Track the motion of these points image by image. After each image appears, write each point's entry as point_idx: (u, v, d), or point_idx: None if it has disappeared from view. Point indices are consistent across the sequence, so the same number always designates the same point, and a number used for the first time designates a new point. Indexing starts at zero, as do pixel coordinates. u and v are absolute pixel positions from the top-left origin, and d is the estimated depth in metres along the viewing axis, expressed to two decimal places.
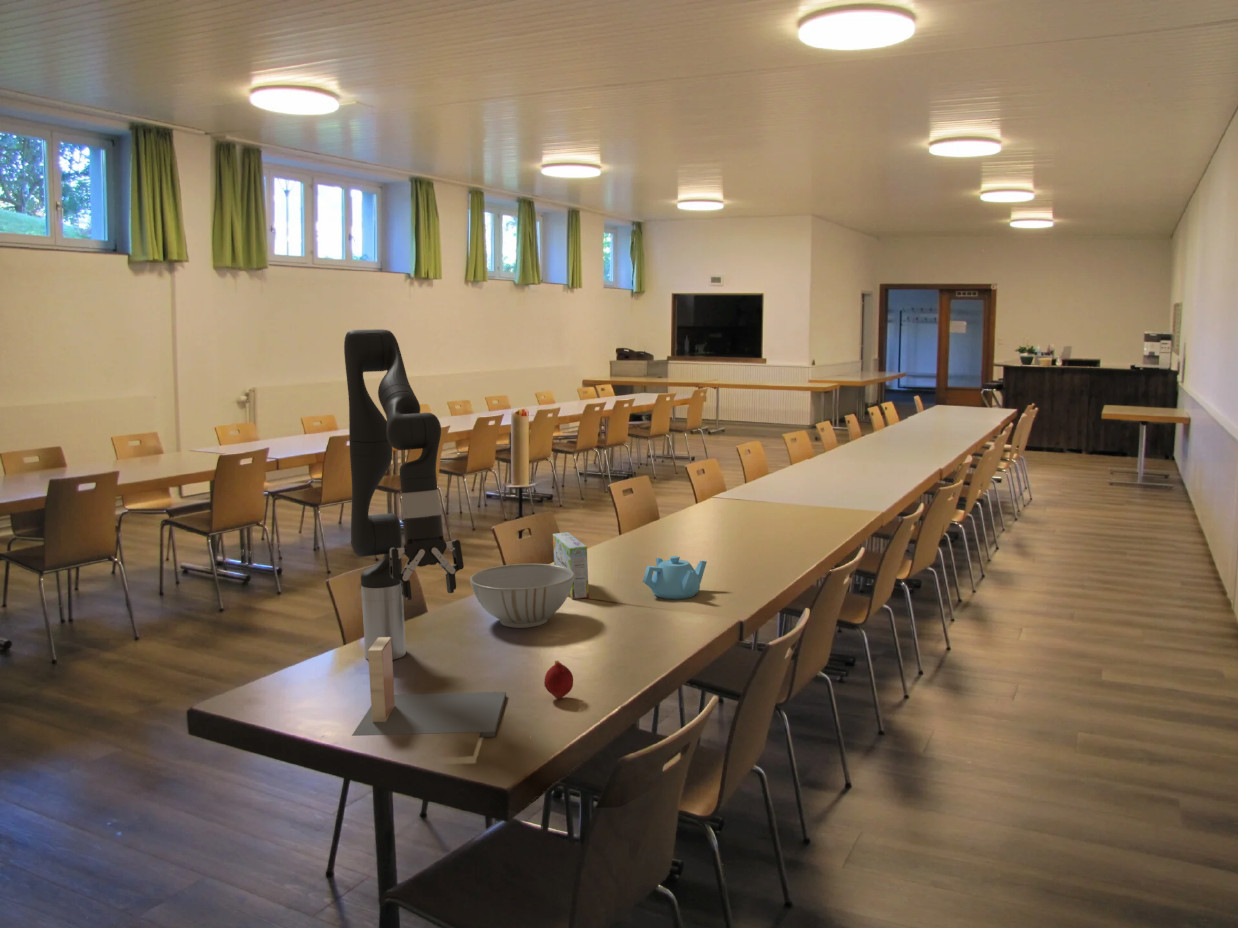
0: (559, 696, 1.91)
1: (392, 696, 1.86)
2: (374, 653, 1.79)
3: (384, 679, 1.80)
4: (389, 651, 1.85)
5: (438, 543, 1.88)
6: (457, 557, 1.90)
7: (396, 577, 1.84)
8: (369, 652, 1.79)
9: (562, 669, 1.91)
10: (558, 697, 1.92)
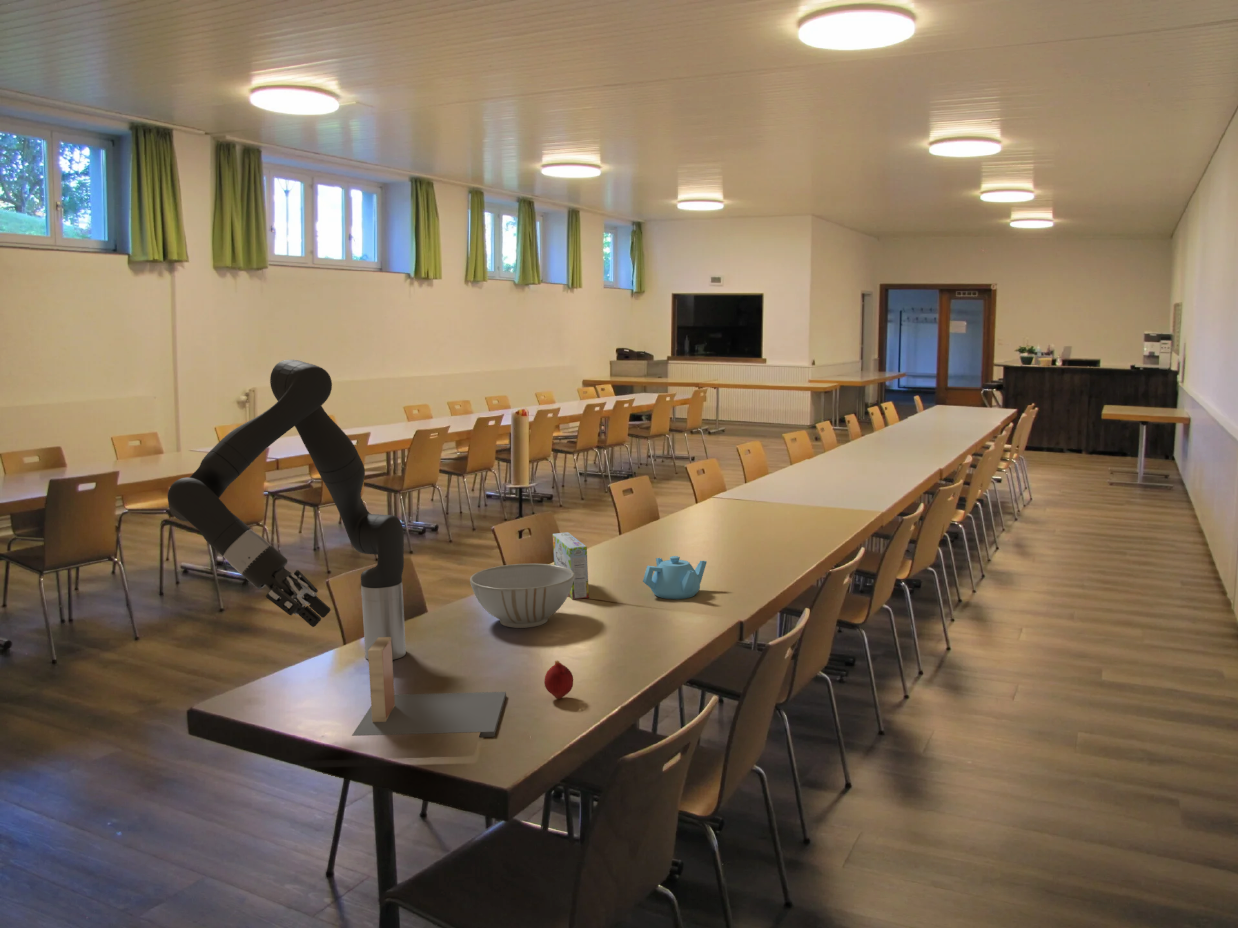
0: (559, 696, 1.91)
1: (392, 696, 1.86)
2: (374, 653, 1.79)
3: (384, 679, 1.80)
4: (389, 651, 1.85)
5: None
6: None
7: None
8: (369, 652, 1.79)
9: (562, 669, 1.91)
10: (558, 697, 1.92)
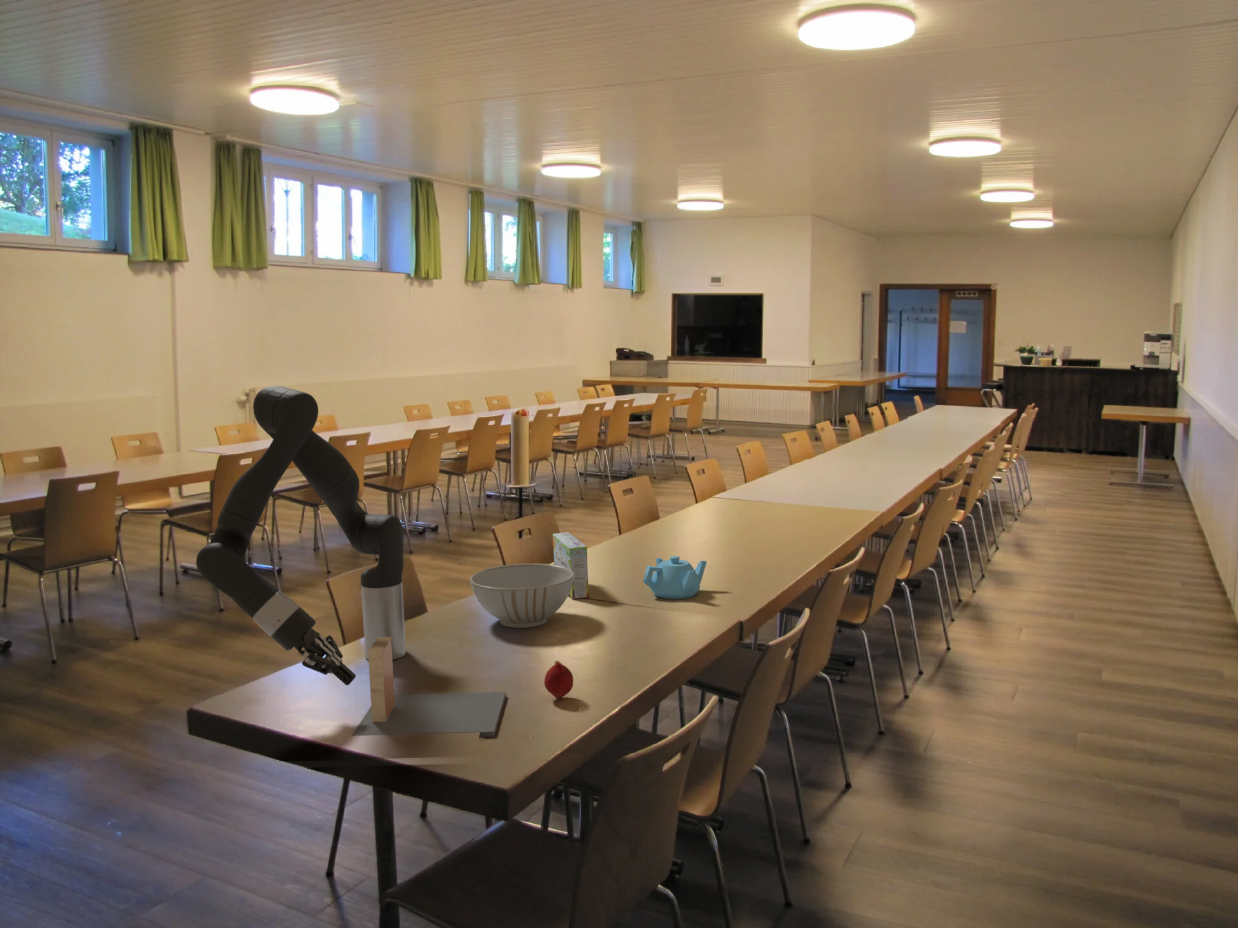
0: (559, 696, 1.91)
1: (392, 696, 1.86)
2: (374, 653, 1.79)
3: (384, 679, 1.80)
4: (389, 651, 1.85)
5: None
6: None
7: None
8: (369, 652, 1.79)
9: (562, 669, 1.91)
10: (558, 697, 1.92)
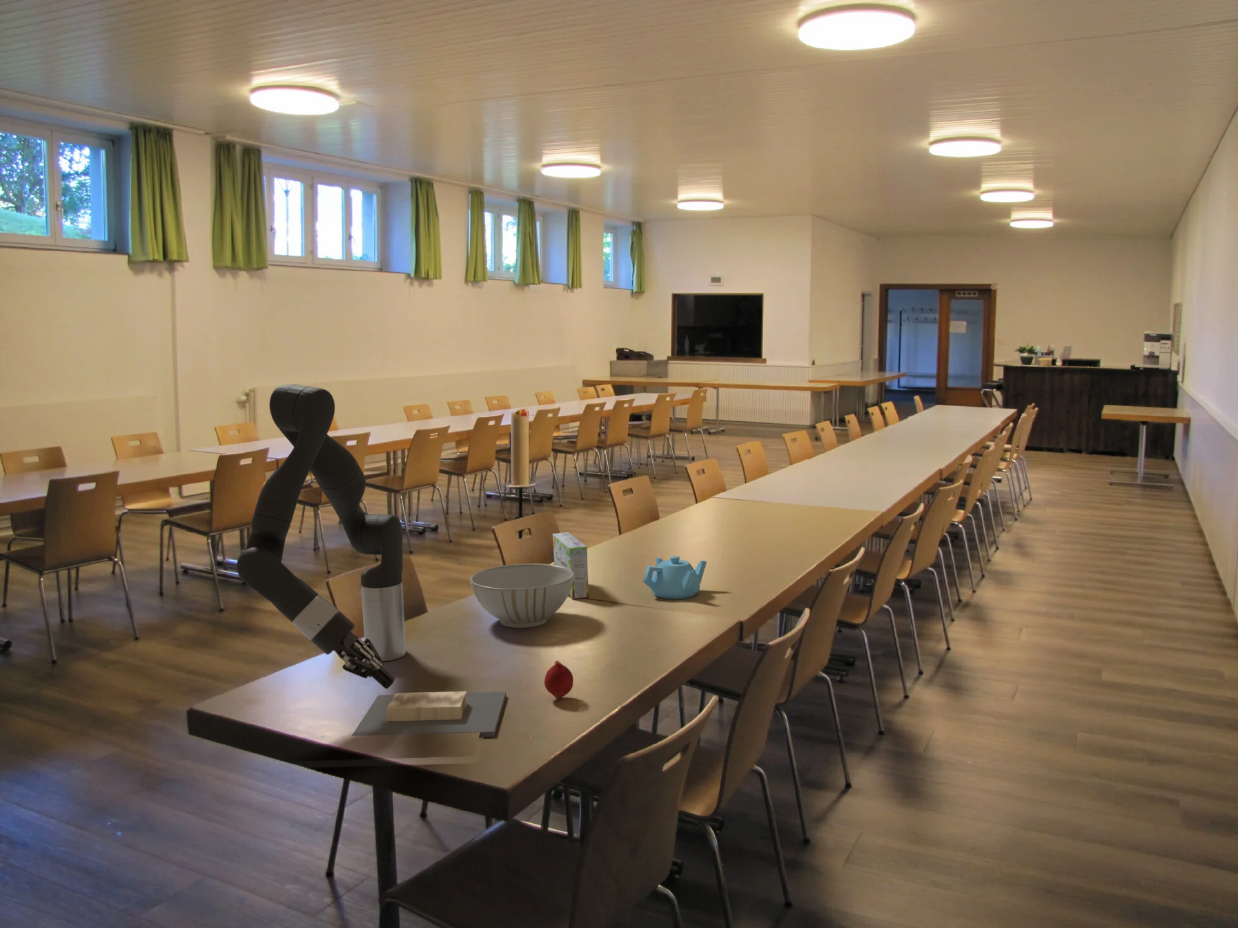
0: (559, 696, 1.91)
1: None
2: (457, 712, 1.81)
3: None
4: None
5: None
6: None
7: None
8: (458, 707, 1.80)
9: (562, 669, 1.91)
10: (558, 697, 1.92)
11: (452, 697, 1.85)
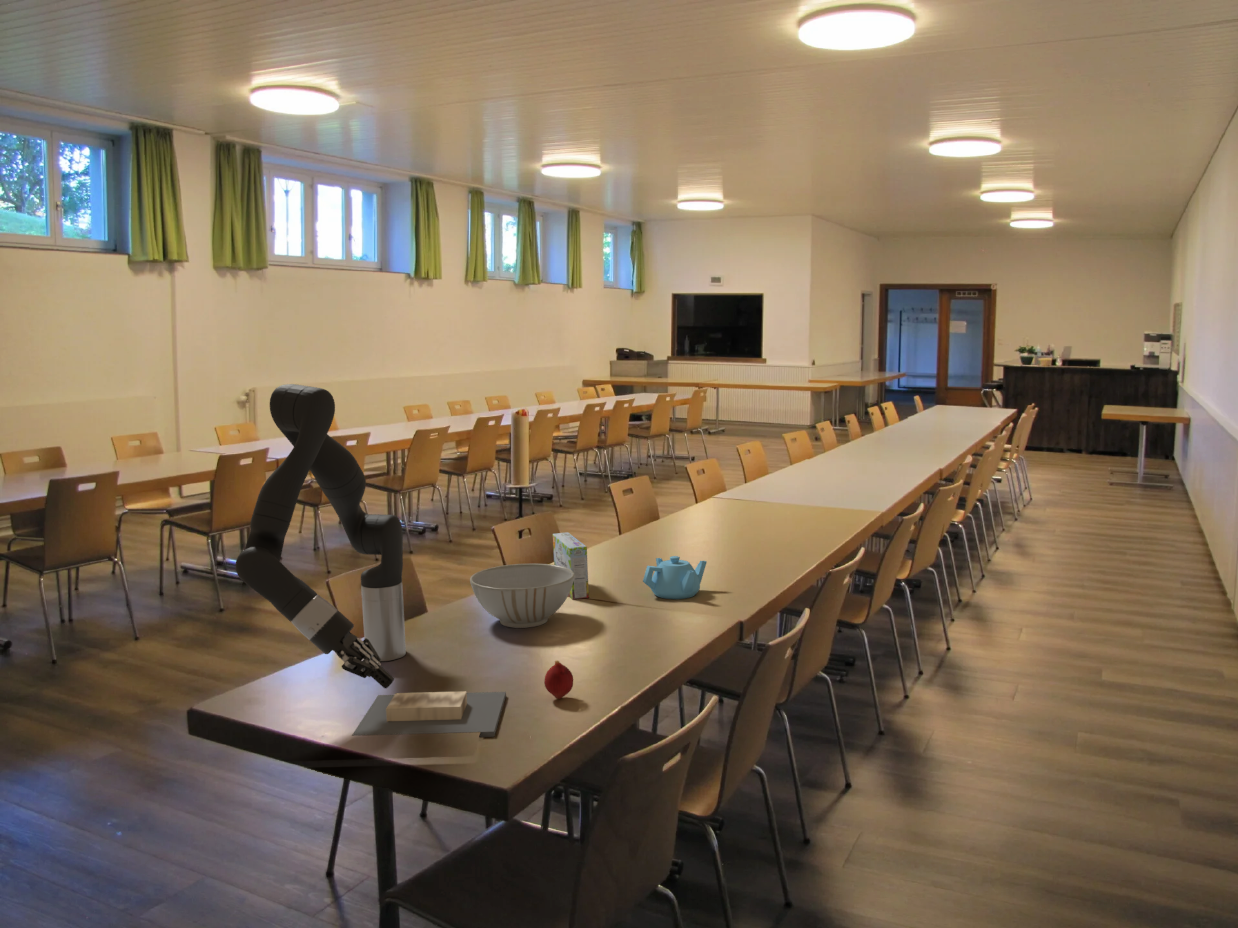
0: (559, 696, 1.91)
1: None
2: (457, 712, 1.81)
3: None
4: None
5: None
6: None
7: None
8: (458, 707, 1.80)
9: (562, 669, 1.91)
10: (558, 697, 1.92)
11: (452, 697, 1.85)
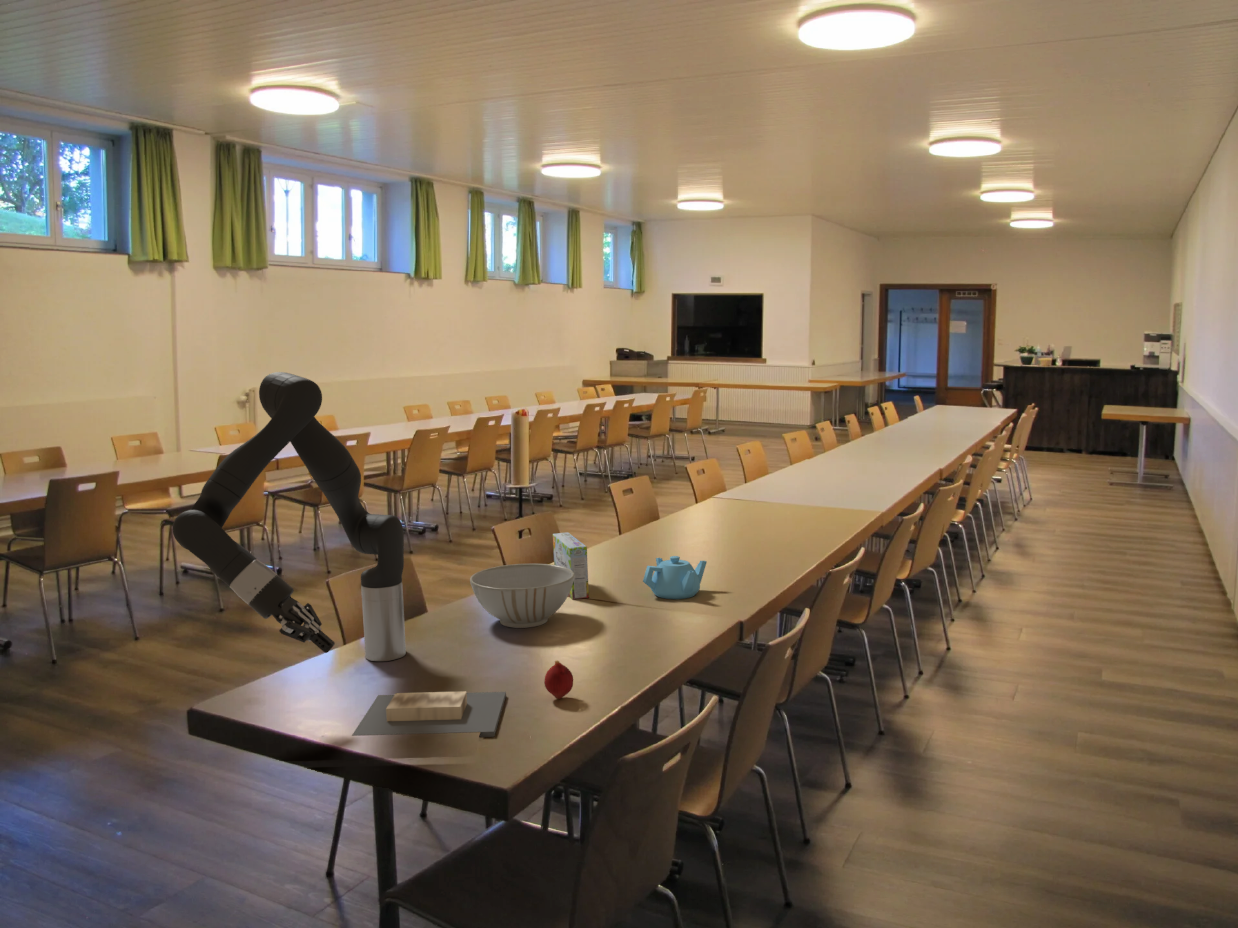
0: (559, 696, 1.91)
1: None
2: (457, 712, 1.81)
3: None
4: None
5: None
6: None
7: None
8: (458, 707, 1.80)
9: (562, 669, 1.91)
10: (558, 697, 1.92)
11: (452, 697, 1.85)
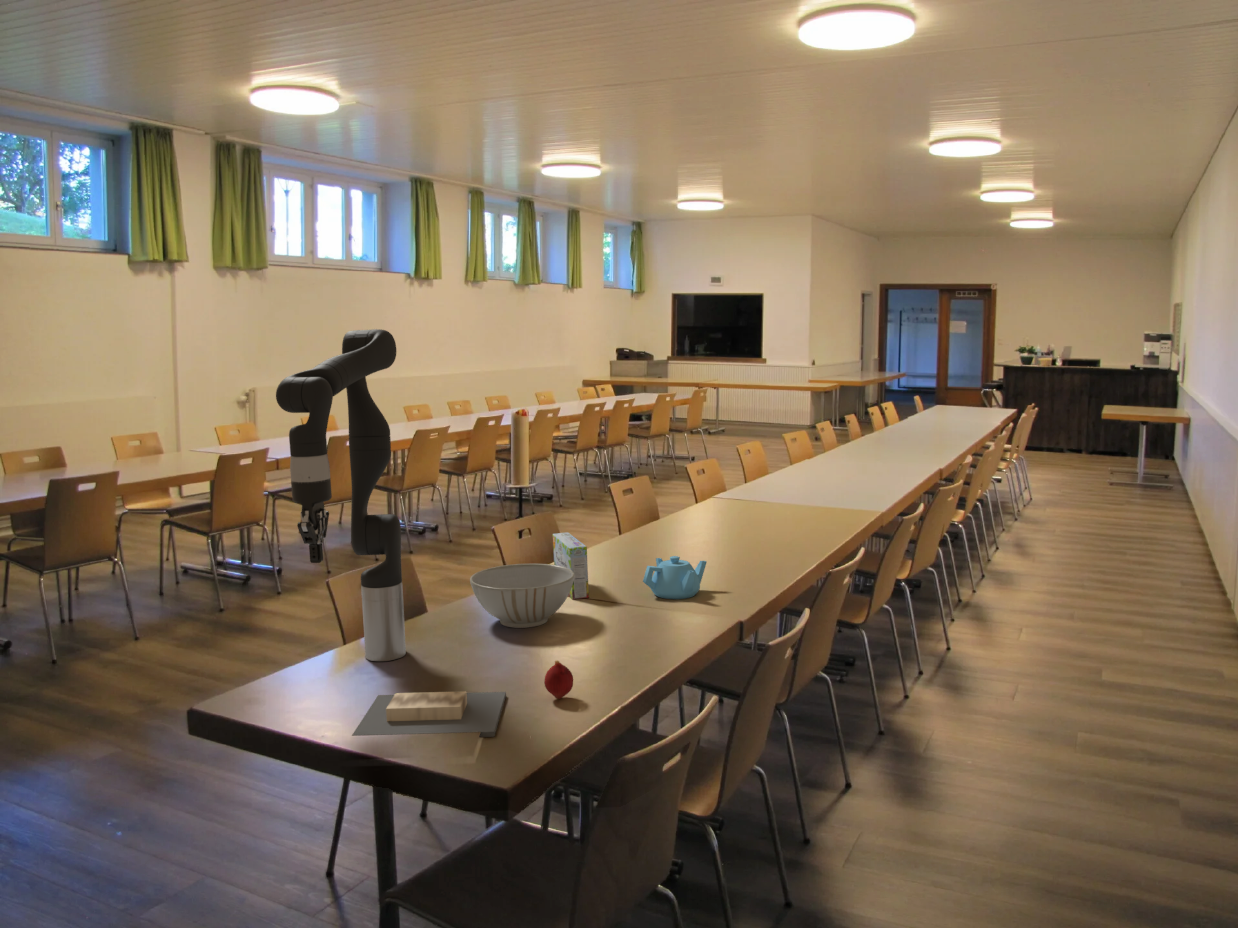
0: (559, 696, 1.91)
1: None
2: (457, 712, 1.81)
3: None
4: None
5: None
6: None
7: None
8: (458, 707, 1.80)
9: (562, 669, 1.91)
10: (558, 697, 1.92)
11: (452, 697, 1.85)
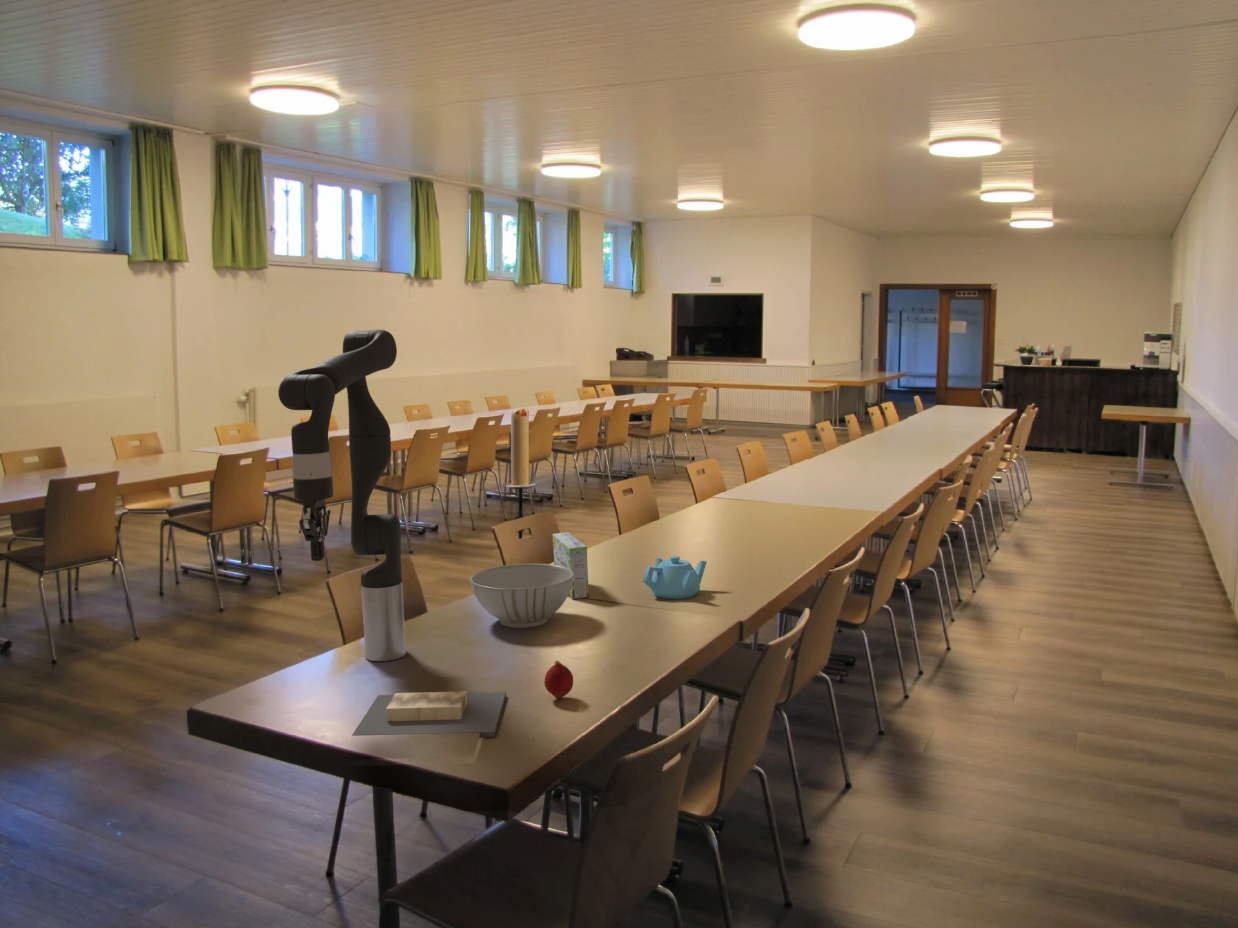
0: (559, 696, 1.91)
1: None
2: (457, 712, 1.81)
3: None
4: None
5: None
6: None
7: None
8: (458, 707, 1.80)
9: (562, 669, 1.91)
10: (558, 697, 1.92)
11: (452, 697, 1.85)
